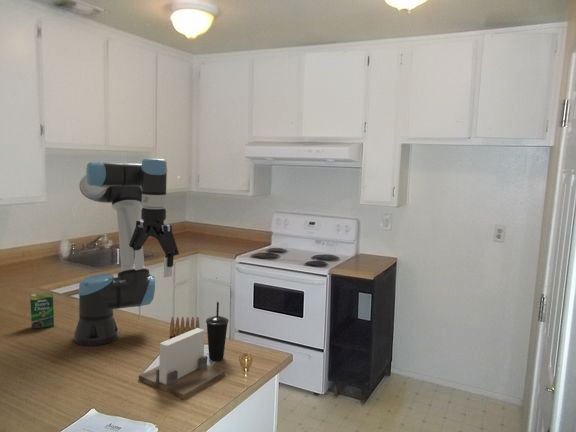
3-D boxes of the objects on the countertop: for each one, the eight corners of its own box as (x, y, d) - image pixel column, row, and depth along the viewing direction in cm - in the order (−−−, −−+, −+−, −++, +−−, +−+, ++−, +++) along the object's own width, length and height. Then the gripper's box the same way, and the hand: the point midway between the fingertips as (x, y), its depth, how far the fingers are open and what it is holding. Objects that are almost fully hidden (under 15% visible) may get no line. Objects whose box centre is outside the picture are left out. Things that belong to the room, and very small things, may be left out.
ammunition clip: (199, 347, 165) (200, 315, 164) (199, 350, 163) (200, 317, 162) (169, 347, 164) (170, 315, 162) (168, 350, 162) (169, 317, 161)
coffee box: (30, 329, 174) (29, 296, 173) (30, 326, 177) (30, 293, 175) (54, 326, 178) (53, 294, 176) (54, 324, 180) (53, 292, 179)
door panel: (159, 381, 136) (159, 343, 135) (196, 362, 150) (197, 327, 148) (166, 384, 135) (166, 345, 133) (203, 365, 148) (204, 330, 147)
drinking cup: (202, 354, 159) (204, 299, 157) (224, 352, 162) (226, 298, 160) (207, 364, 152) (208, 306, 150) (229, 361, 155) (231, 305, 153)
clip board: (138, 379, 140) (138, 364, 139) (181, 359, 155) (181, 345, 154) (183, 399, 130) (184, 382, 129) (224, 375, 145) (225, 360, 144)
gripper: (118, 204, 148) (117, 268, 151) (173, 212, 135) (171, 282, 138) (136, 203, 154) (136, 264, 157) (191, 210, 141) (189, 277, 144)
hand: (152, 273), depth 147 cm, fingers open, 13 cm apart
